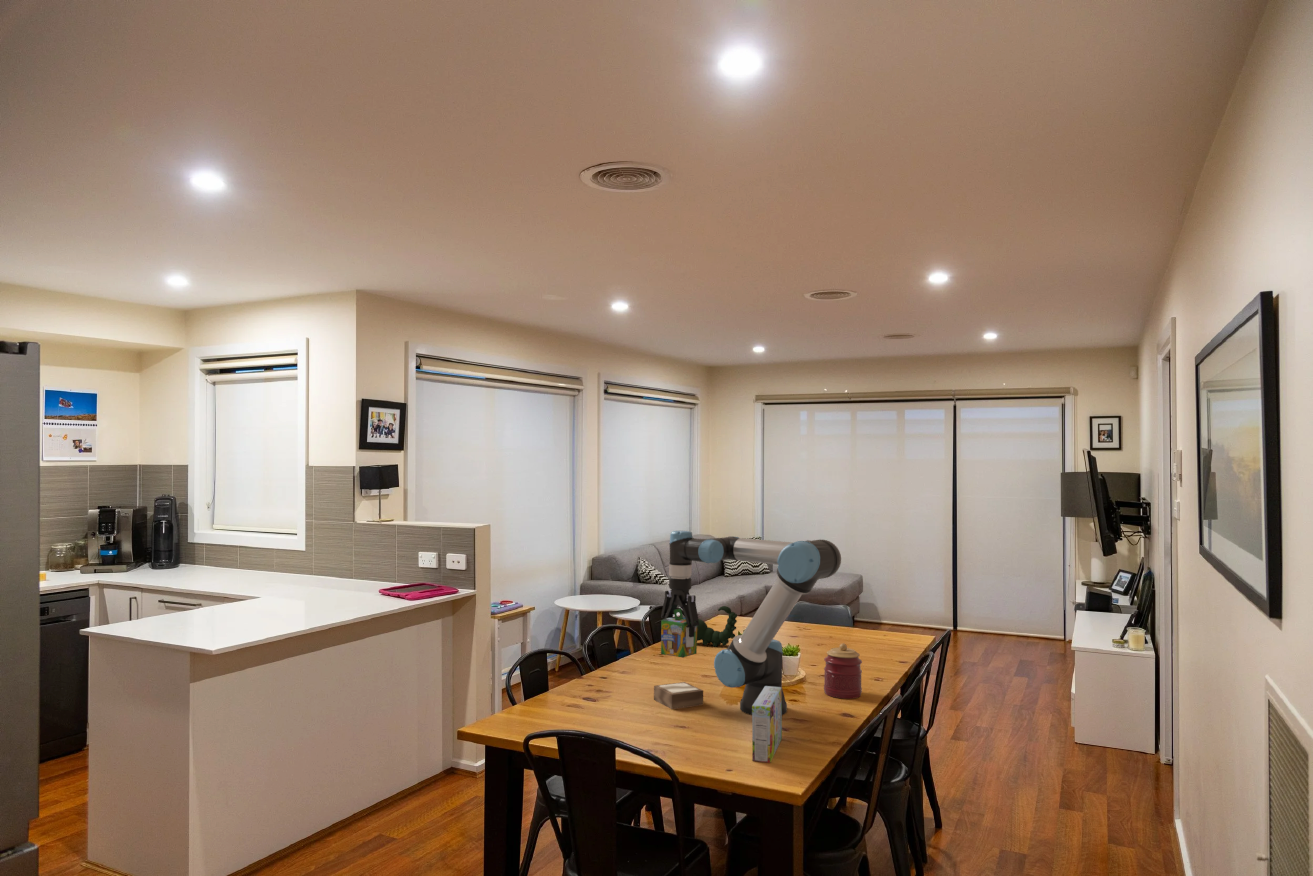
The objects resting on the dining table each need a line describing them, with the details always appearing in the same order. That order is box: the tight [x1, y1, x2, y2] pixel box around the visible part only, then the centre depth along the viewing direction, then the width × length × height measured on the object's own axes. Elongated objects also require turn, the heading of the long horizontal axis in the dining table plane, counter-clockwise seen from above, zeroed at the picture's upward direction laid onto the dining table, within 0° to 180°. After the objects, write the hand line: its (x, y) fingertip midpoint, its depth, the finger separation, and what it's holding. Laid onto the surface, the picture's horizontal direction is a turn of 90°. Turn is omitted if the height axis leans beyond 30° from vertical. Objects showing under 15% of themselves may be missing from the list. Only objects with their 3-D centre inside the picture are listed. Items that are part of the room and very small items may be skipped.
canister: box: [823, 642, 863, 700], centre depth 288 cm, size 13×13×18 cm
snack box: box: [751, 686, 783, 764], centre depth 230 cm, size 21×6×15 cm, turn 163°
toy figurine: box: [697, 605, 738, 648], centre depth 364 cm, size 9×19×25 cm
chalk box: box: [660, 608, 698, 659], centre depth 275 cm, size 9×9×15 cm
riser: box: [653, 681, 704, 710], centre depth 274 cm, size 12×12×5 cm
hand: (679, 643), depth 275 cm, fingers closed on chalk box, 10 cm apart
